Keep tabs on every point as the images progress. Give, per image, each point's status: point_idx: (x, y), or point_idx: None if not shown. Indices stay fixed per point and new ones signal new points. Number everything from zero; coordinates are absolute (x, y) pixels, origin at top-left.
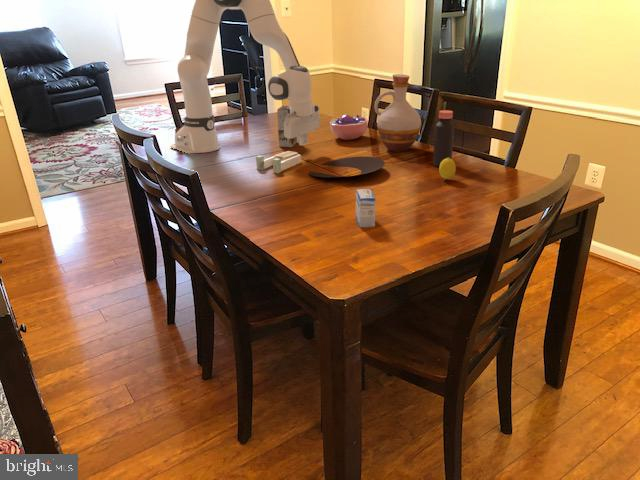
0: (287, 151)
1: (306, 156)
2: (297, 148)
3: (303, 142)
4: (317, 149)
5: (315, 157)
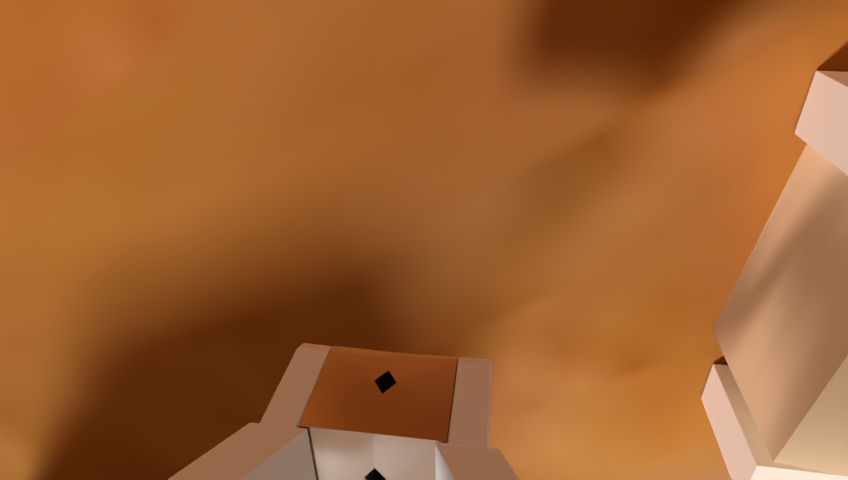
0: (841, 460)
1: (396, 193)
2: (167, 453)
3: (444, 399)
4: (2, 236)
5: (363, 5)
